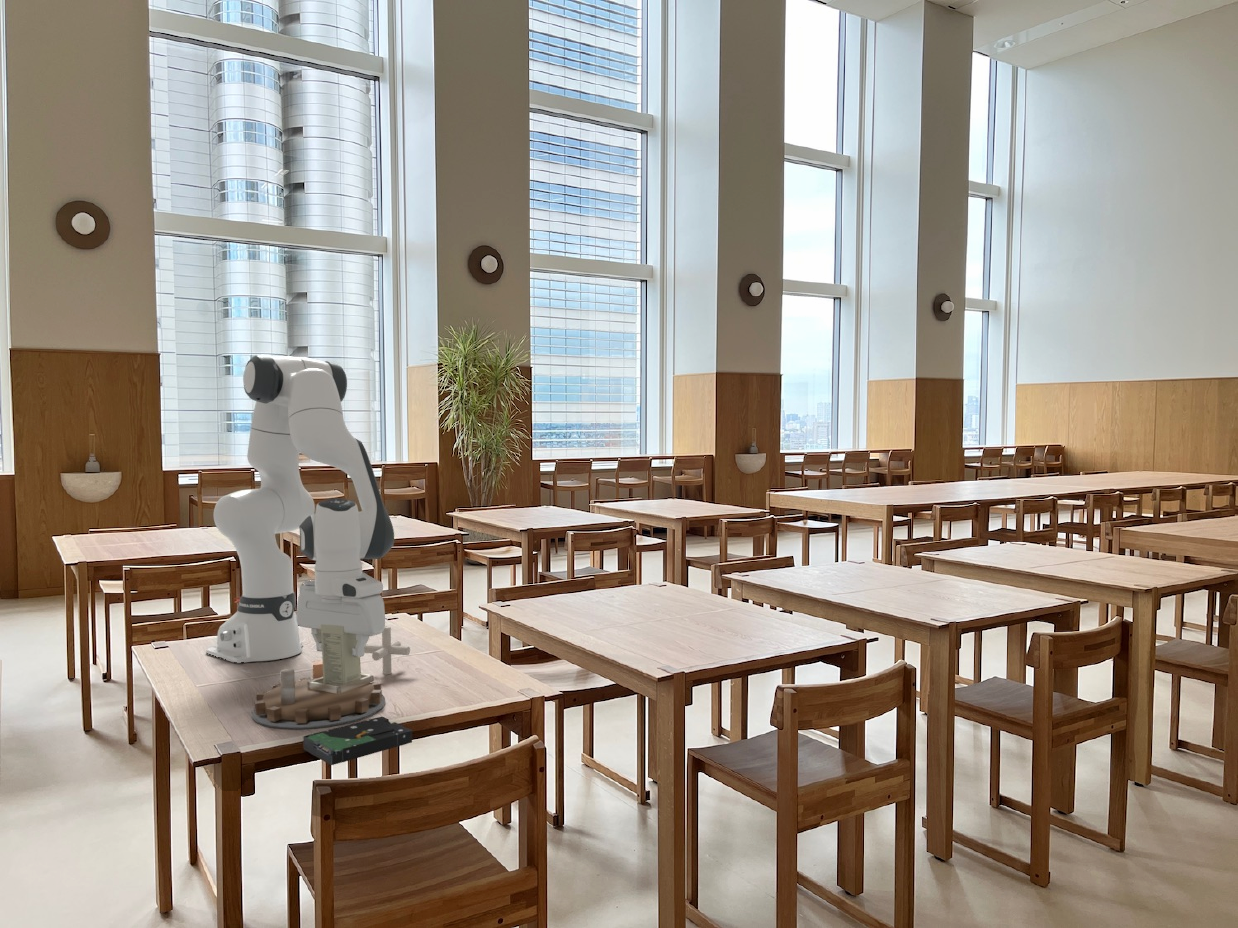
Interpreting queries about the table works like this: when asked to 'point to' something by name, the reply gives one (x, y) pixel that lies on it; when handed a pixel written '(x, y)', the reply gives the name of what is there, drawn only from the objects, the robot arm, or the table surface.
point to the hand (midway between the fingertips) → (340, 653)
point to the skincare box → (339, 656)
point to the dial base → (318, 723)
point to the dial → (316, 698)
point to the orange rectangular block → (317, 669)
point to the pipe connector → (386, 650)
